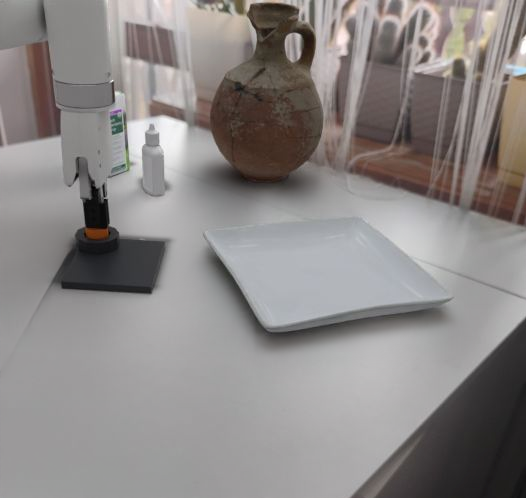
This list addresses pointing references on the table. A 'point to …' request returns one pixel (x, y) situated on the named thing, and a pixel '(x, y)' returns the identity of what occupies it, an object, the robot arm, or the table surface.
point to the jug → (269, 100)
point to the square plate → (322, 272)
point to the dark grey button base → (113, 264)
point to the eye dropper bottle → (153, 163)
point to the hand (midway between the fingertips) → (97, 226)
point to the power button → (96, 233)
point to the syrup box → (119, 135)
